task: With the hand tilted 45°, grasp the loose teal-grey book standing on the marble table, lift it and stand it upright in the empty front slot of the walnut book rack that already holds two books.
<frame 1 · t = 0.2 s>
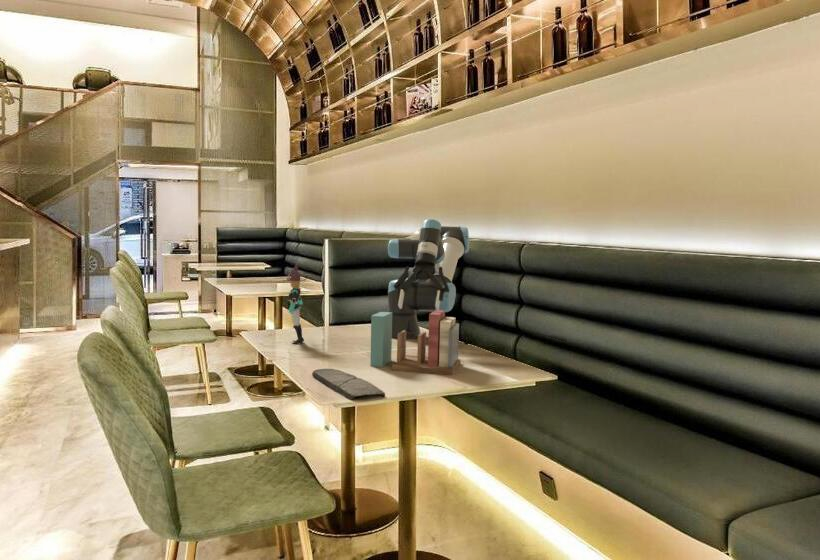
hand: (418, 307, 217), 16 cm above the table, tool tilted 35°, fingers open, 13 cm apart
stone slab: (345, 387, 169), on the table
book: (381, 363, 197), on the table
figurine: (293, 343, 228), on the table
book rack: (429, 367, 193), on the table
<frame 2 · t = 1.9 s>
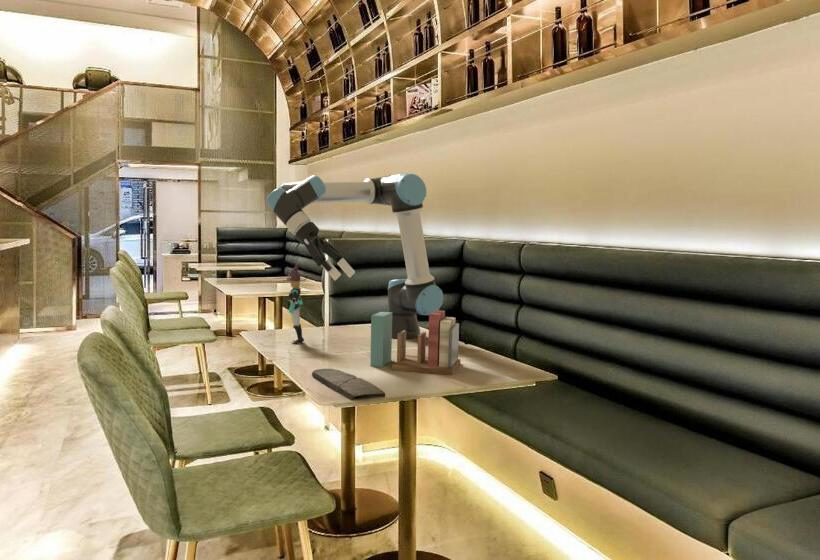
hand: (345, 276, 198), 28 cm above the table, tool tilted 45°, fingers open, 13 cm apart
nothing on the table moved.
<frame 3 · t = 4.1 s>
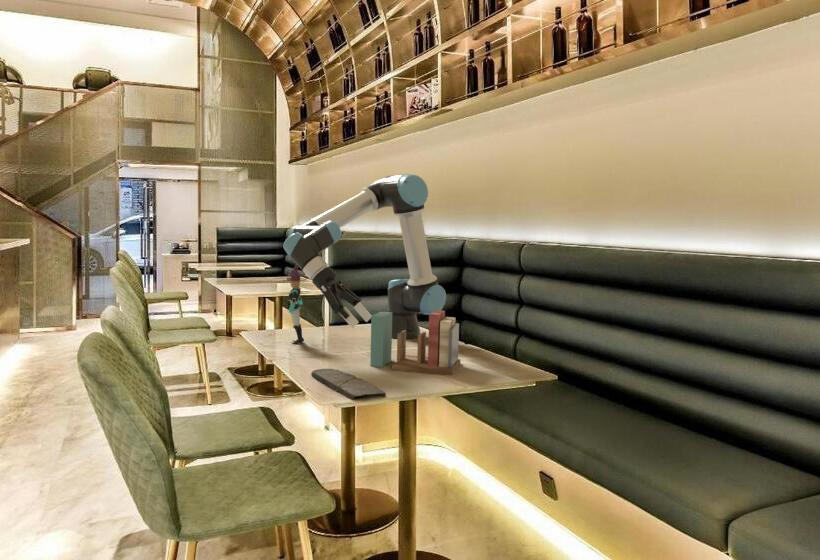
hand: (362, 322, 197), 13 cm above the table, tool tilted 45°, fingers open, 13 cm apart
nothing on the table moved.
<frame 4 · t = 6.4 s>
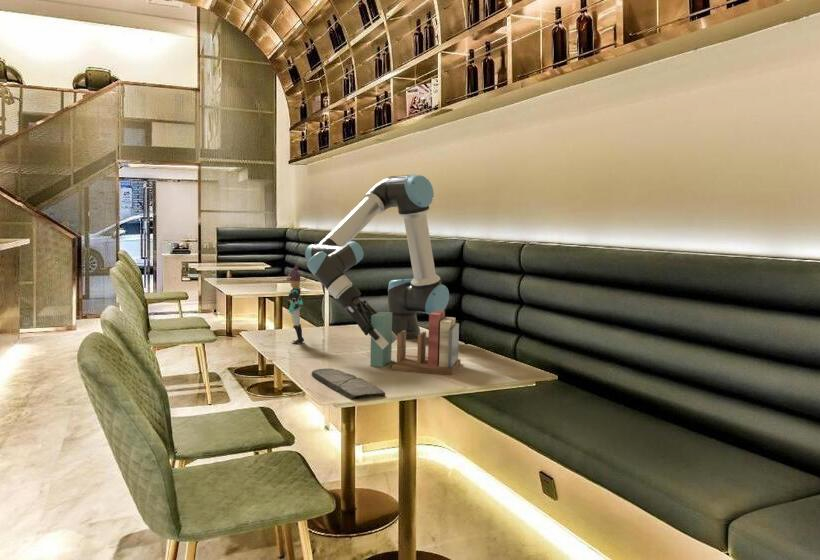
hand: (390, 343, 196), 7 cm above the table, tool tilted 45°, fingers closed on book, 10 cm apart
book: (381, 363, 197), on the table, touching gripper
everything else where it was.
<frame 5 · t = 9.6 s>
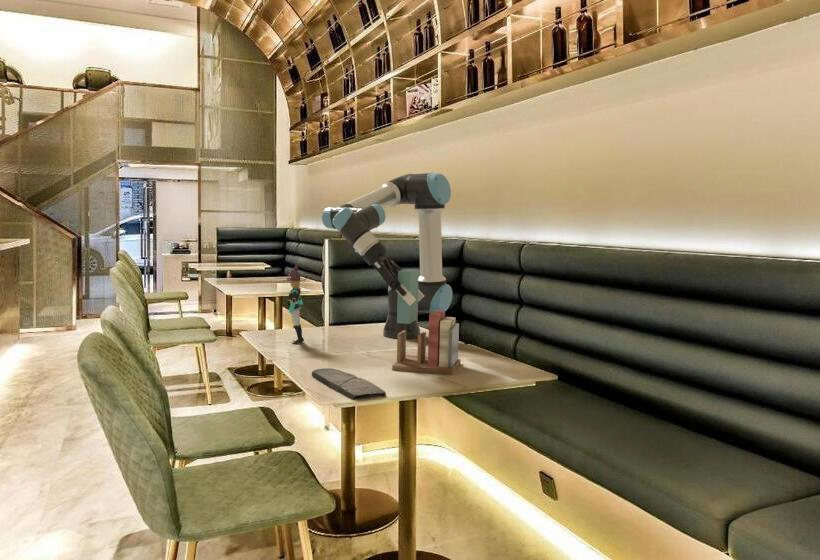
hand: (417, 300, 192), 21 cm above the table, tool tilted 45°, fingers closed on book, 10 cm apart
book: (407, 321, 194), point 14 cm above the table, touching gripper
everything else where it was.
when the fingers open (10 cm above the table, at t = 13.0 s): book drops 1 cm, resting on book rack.
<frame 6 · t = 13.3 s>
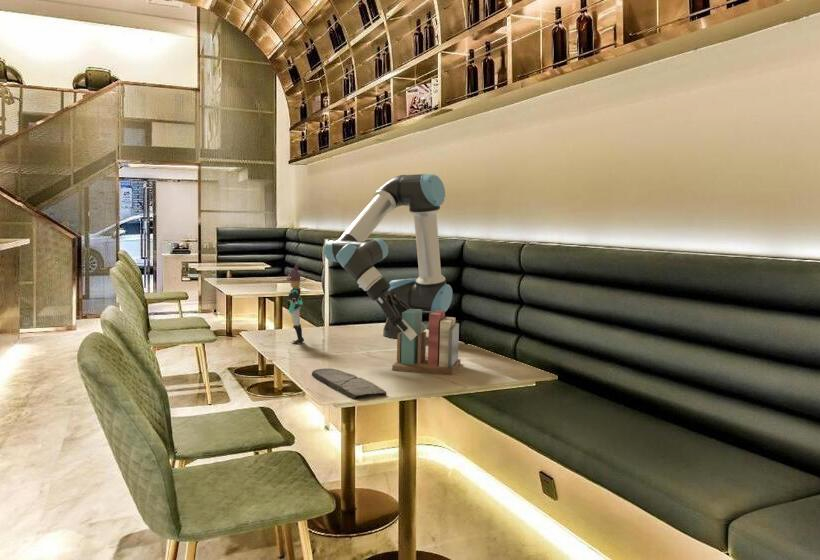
hand: (419, 334, 193), 10 cm above the table, tool tilted 45°, fingers open, 13 cm apart
book: (411, 360, 195), point 1 cm above the table, touching book rack
everything else where it was.
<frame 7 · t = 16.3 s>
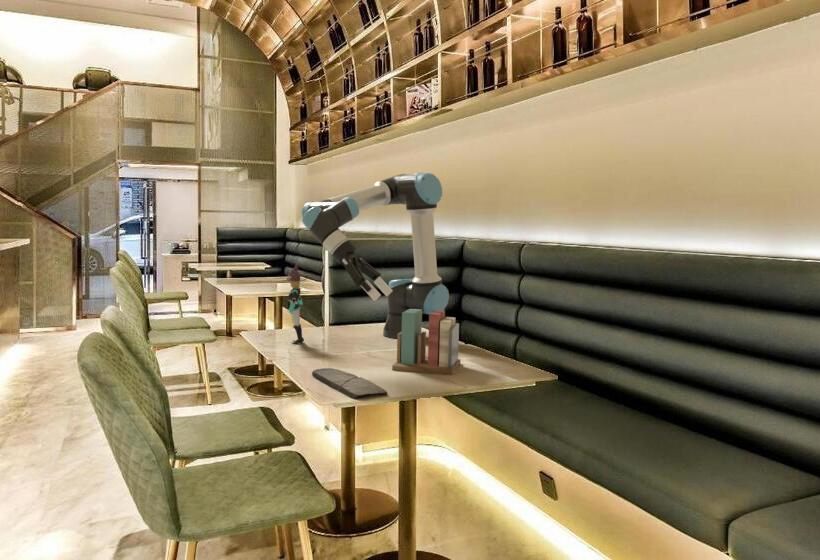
hand: (384, 296, 195), 22 cm above the table, tool tilted 45°, fingers open, 13 cm apart
nothing on the table moved.
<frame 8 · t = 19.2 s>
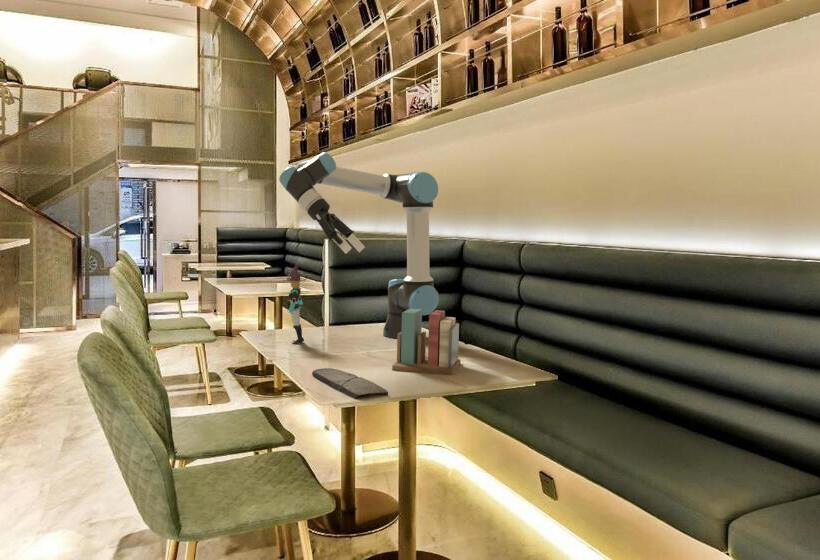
hand: (355, 250, 207), 36 cm above the table, tool tilted 45°, fingers open, 13 cm apart
at the end: book 0.1 cm from the target spot on the book rack, point 1.5 cm above the book rack's base; book tilted 0°; the gripper is holding nothing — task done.
